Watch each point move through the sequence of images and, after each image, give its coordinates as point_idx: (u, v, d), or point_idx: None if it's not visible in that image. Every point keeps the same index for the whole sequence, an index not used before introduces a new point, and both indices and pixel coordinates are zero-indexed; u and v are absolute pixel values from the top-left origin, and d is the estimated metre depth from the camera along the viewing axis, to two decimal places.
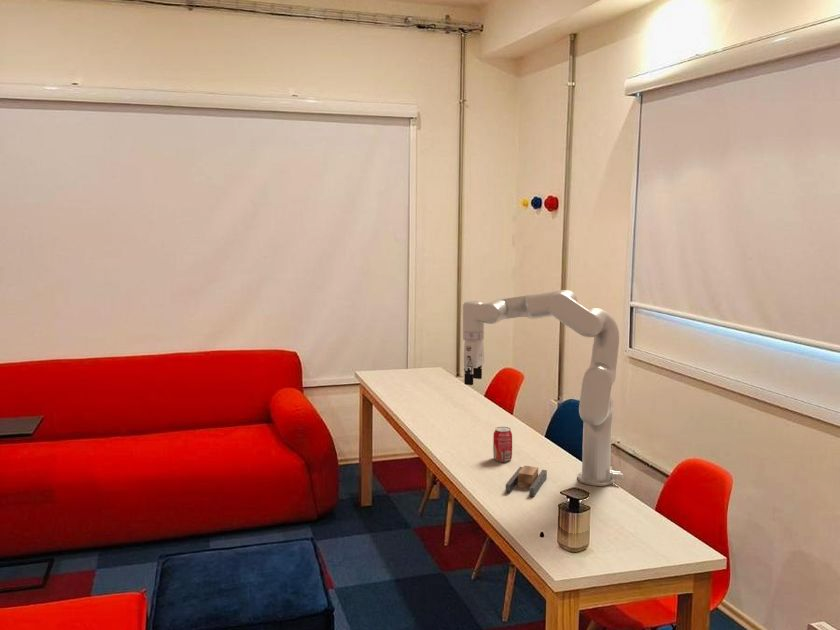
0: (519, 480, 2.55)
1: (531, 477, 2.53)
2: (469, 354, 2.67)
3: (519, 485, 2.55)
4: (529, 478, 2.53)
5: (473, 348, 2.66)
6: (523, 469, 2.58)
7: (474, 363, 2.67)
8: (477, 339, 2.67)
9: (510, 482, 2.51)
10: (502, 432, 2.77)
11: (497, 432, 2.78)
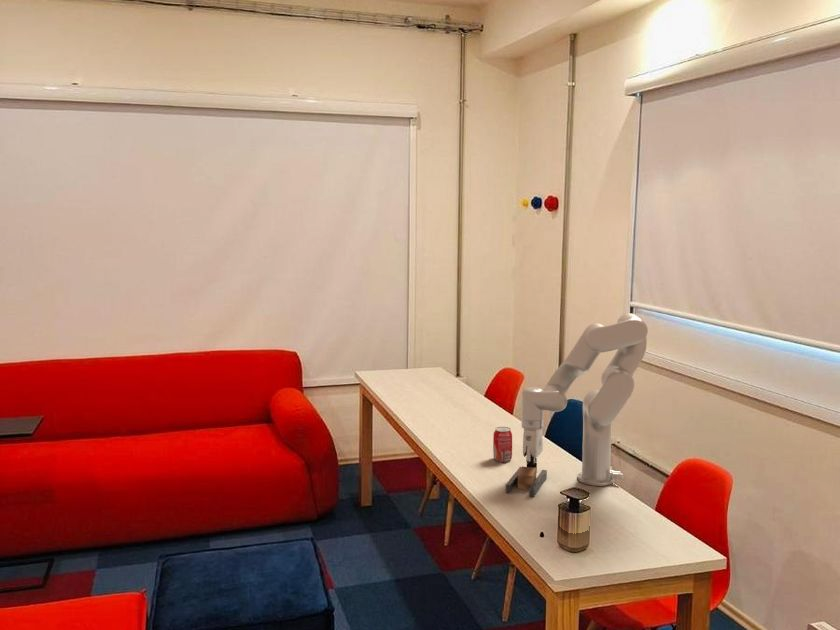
0: (519, 481, 2.53)
1: (531, 478, 2.52)
2: (529, 444, 2.56)
3: (519, 486, 2.53)
4: (529, 479, 2.52)
5: (533, 438, 2.55)
6: (522, 470, 2.57)
7: (534, 453, 2.56)
8: (537, 428, 2.56)
9: (510, 482, 2.51)
10: (502, 432, 2.77)
11: (497, 432, 2.78)
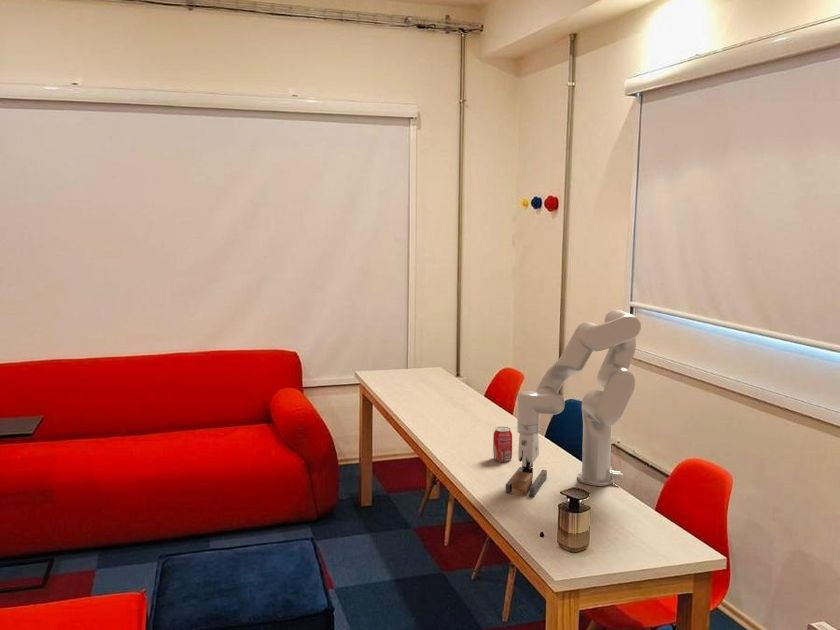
0: (513, 486, 2.48)
1: (525, 483, 2.47)
2: (524, 449, 2.51)
3: (513, 492, 2.49)
4: (523, 484, 2.47)
5: (529, 442, 2.50)
6: (517, 475, 2.52)
7: (530, 458, 2.50)
8: (533, 433, 2.51)
9: (510, 482, 2.51)
10: (502, 432, 2.77)
11: (497, 432, 2.78)
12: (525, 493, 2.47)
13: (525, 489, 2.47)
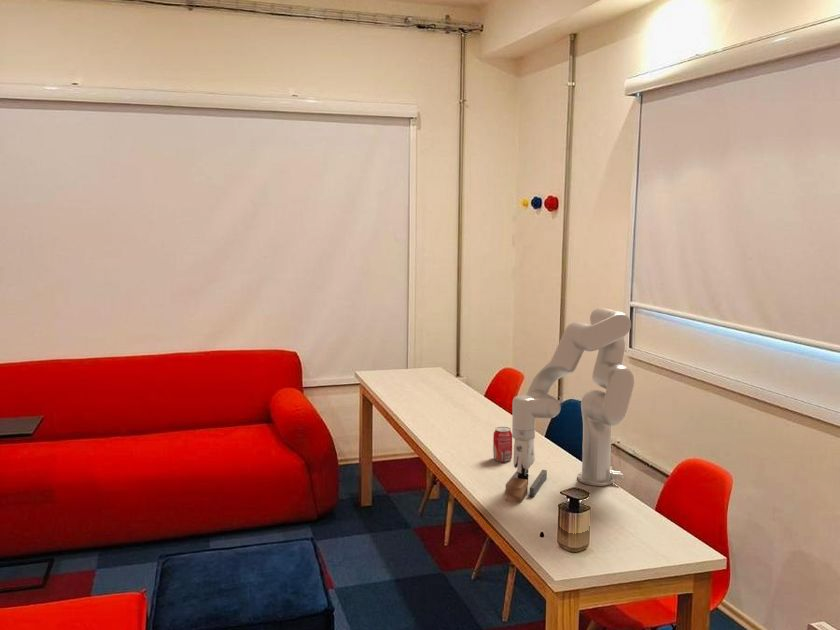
0: (507, 493, 2.43)
1: (520, 490, 2.41)
2: (520, 455, 2.45)
3: (507, 498, 2.43)
4: (518, 491, 2.41)
5: (524, 448, 2.44)
6: (512, 481, 2.46)
7: (525, 464, 2.45)
8: (528, 438, 2.45)
9: None
10: (502, 432, 2.77)
11: (497, 432, 2.78)
12: (520, 500, 2.42)
13: (520, 496, 2.41)
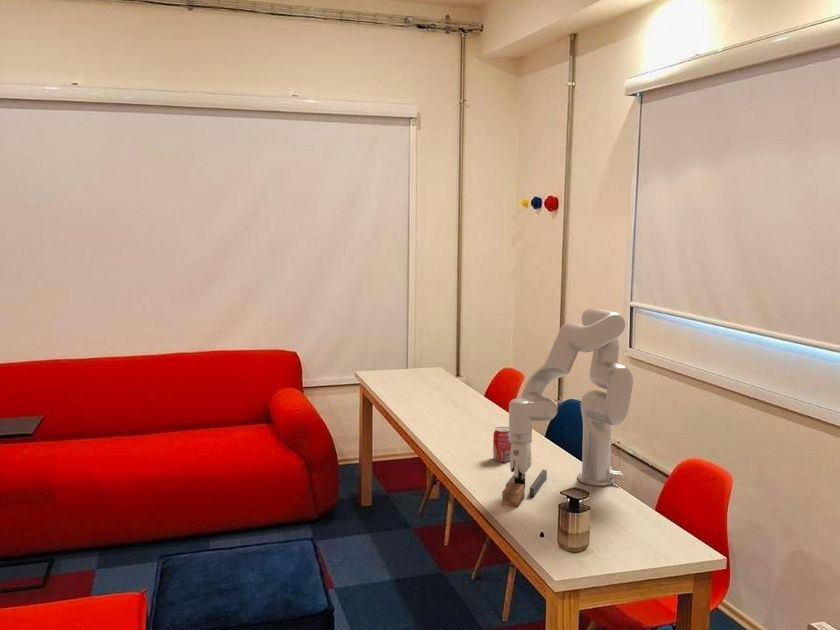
0: (504, 499, 2.39)
1: (516, 496, 2.37)
2: (516, 459, 2.41)
3: (504, 504, 2.40)
4: (514, 496, 2.38)
5: (521, 452, 2.41)
6: (508, 487, 2.42)
7: (522, 469, 2.41)
8: (525, 442, 2.42)
9: (510, 482, 2.51)
10: (502, 432, 2.77)
11: (497, 432, 2.78)
12: (516, 506, 2.38)
13: (516, 501, 2.38)
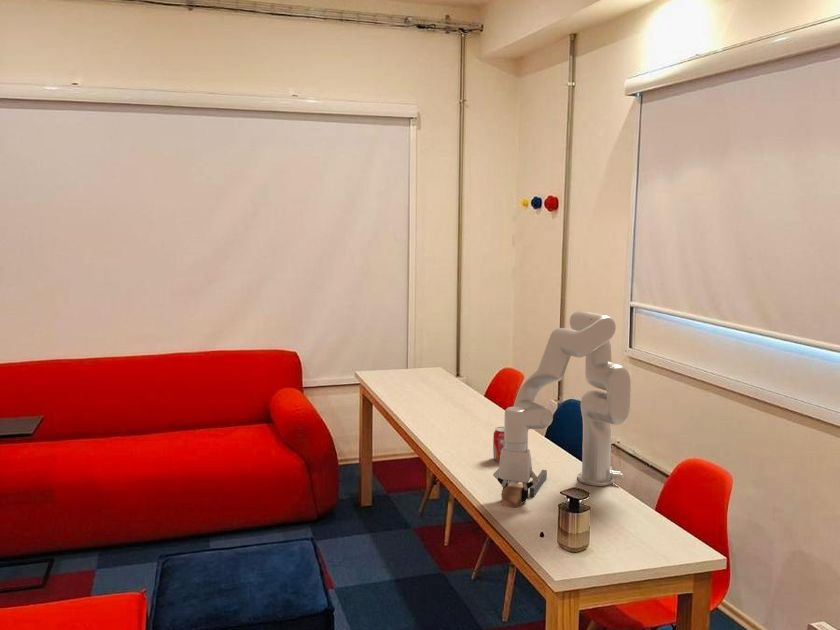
0: (503, 498, 2.39)
1: (515, 495, 2.37)
2: None
3: (503, 503, 2.39)
4: (513, 496, 2.37)
5: (500, 456, 2.41)
6: (509, 486, 2.42)
7: (499, 472, 2.42)
8: (505, 449, 2.39)
9: (510, 482, 2.51)
10: (502, 432, 2.77)
11: (497, 432, 2.78)
12: (515, 505, 2.37)
13: (515, 501, 2.37)
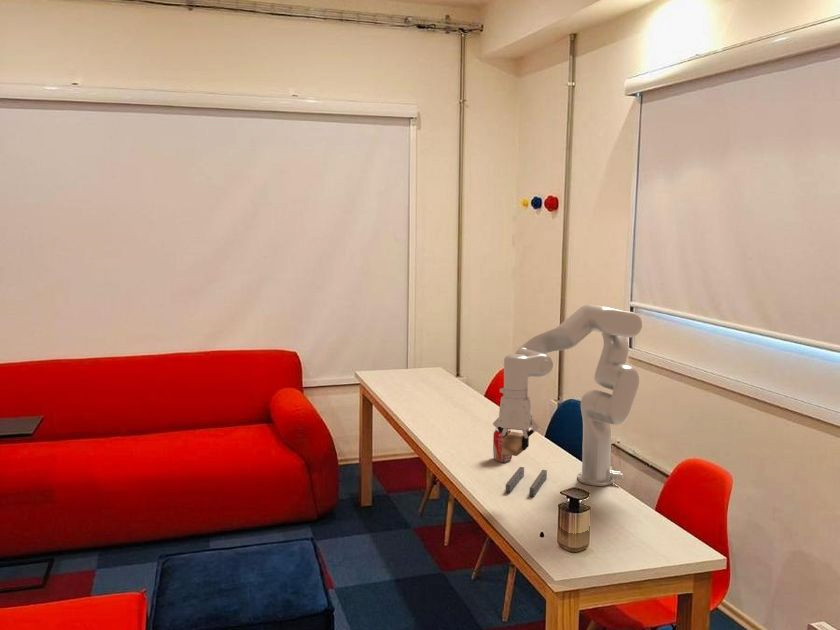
0: (503, 446, 2.37)
1: (515, 443, 2.35)
2: None
3: (503, 451, 2.37)
4: (513, 444, 2.35)
5: (500, 404, 2.39)
6: (509, 435, 2.40)
7: (498, 421, 2.39)
8: (505, 397, 2.37)
9: (510, 482, 2.51)
10: None
11: (497, 432, 2.78)
12: (515, 453, 2.35)
13: (515, 449, 2.35)
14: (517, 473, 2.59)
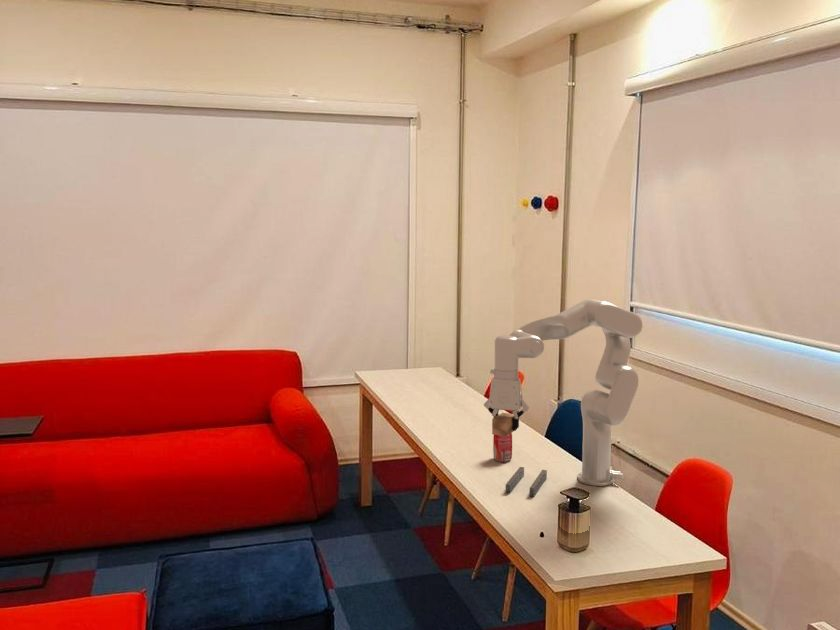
0: (493, 426, 2.39)
1: (505, 423, 2.37)
2: None
3: (493, 432, 2.39)
4: (503, 424, 2.37)
5: None
6: (499, 415, 2.42)
7: None
8: (495, 377, 2.39)
9: (510, 482, 2.51)
10: None
11: None
12: (505, 433, 2.37)
13: (505, 429, 2.37)
14: (517, 473, 2.59)
